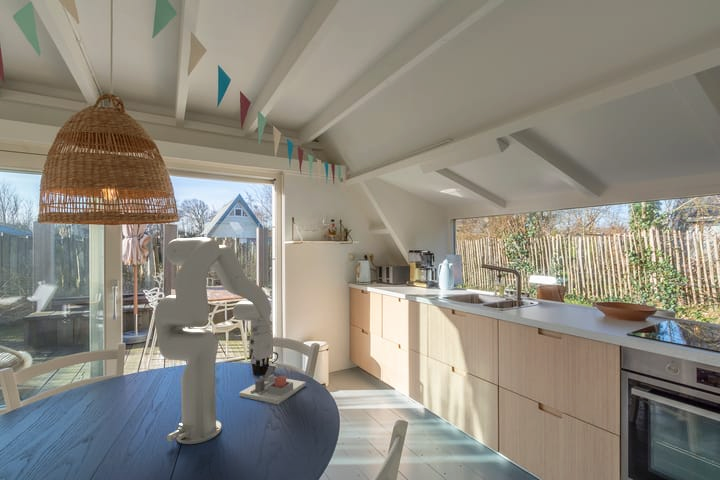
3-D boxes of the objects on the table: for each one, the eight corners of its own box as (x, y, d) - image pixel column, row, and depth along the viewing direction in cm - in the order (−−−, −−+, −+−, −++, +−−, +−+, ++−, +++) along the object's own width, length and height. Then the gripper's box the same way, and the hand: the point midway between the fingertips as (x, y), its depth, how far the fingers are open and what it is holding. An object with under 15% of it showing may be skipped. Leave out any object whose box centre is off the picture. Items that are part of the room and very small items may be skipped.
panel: (277, 404, 126) (277, 393, 126) (239, 396, 133) (239, 385, 133) (305, 385, 142) (305, 375, 142) (270, 379, 150) (270, 370, 150)
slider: (260, 392, 132) (260, 382, 132) (255, 391, 133) (255, 381, 133) (264, 390, 134) (264, 379, 134) (259, 389, 135) (259, 379, 135)
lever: (268, 379, 143) (275, 364, 147) (262, 378, 144) (270, 363, 148) (270, 380, 144) (277, 365, 148) (264, 379, 145) (271, 364, 149)
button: (281, 393, 131) (281, 380, 131) (272, 391, 133) (272, 379, 133) (288, 388, 135) (288, 376, 135) (279, 386, 137) (279, 375, 137)
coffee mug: (246, 375, 155) (246, 352, 155) (257, 368, 163) (257, 347, 163) (269, 377, 152) (269, 354, 152) (279, 370, 160) (279, 348, 160)
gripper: (254, 334, 133) (255, 382, 132) (279, 326, 146) (280, 370, 146) (239, 332, 136) (240, 380, 136) (265, 324, 150) (266, 367, 149)
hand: (261, 374), depth 141 cm, fingers closed
